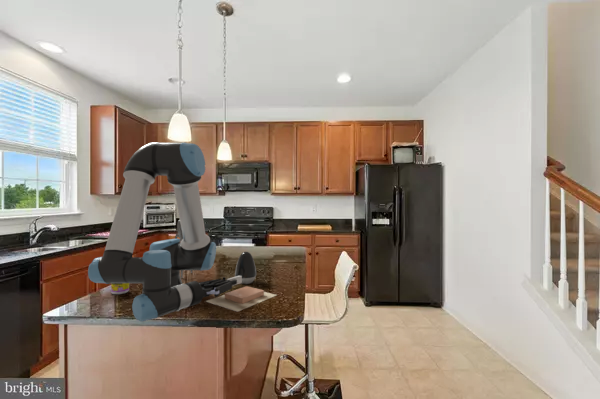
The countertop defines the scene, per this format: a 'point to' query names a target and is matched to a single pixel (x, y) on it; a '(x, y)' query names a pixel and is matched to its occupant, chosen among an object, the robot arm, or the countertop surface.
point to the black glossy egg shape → (246, 268)
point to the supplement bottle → (119, 288)
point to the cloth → (238, 306)
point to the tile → (244, 294)
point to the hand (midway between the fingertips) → (240, 279)
